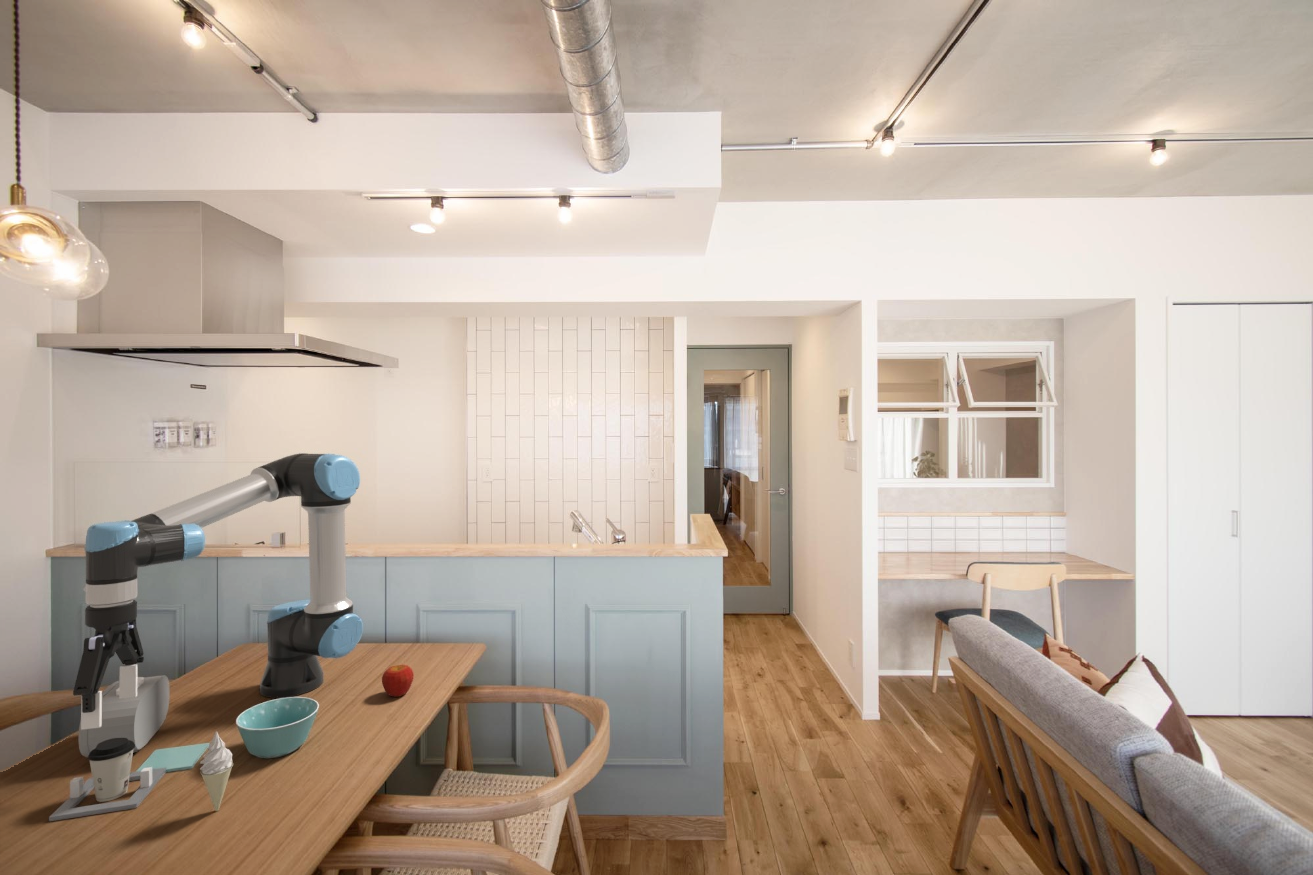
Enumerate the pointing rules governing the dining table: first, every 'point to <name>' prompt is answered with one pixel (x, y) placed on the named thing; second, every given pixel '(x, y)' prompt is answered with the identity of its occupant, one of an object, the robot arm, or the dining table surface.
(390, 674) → the apple
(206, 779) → the ice cream cone
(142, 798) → the collar
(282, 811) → the dining table surface
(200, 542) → the robot arm
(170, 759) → the coaster
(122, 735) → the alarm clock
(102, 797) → the coffee cup
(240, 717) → the bowl
